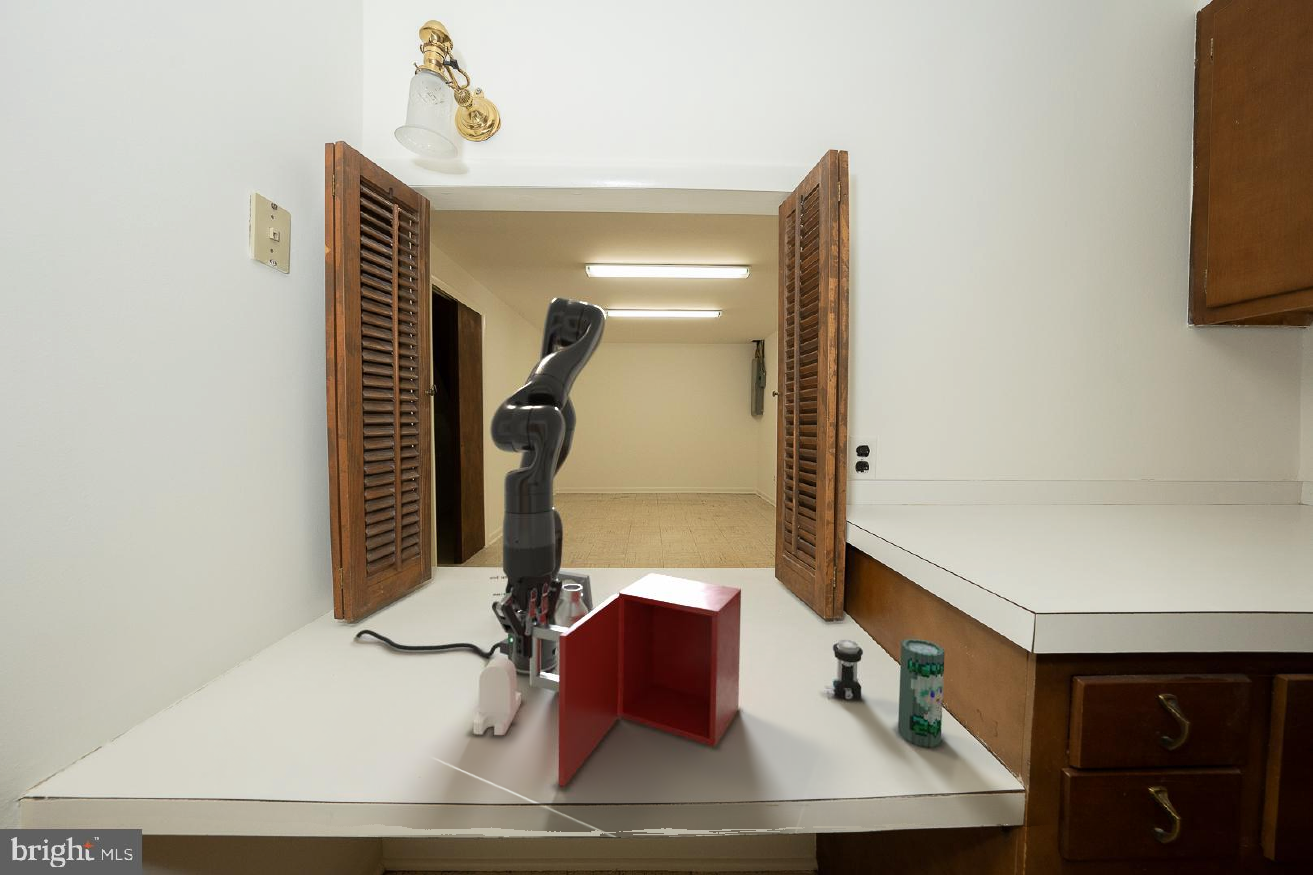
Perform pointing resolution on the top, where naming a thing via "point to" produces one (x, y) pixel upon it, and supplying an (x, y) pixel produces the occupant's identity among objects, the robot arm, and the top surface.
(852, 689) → the push button
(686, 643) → the red upright rectangular box
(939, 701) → the can
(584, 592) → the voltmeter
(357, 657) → the top surface
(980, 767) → the top surface
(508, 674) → the cable organizer
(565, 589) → the plastic bottle
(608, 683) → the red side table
